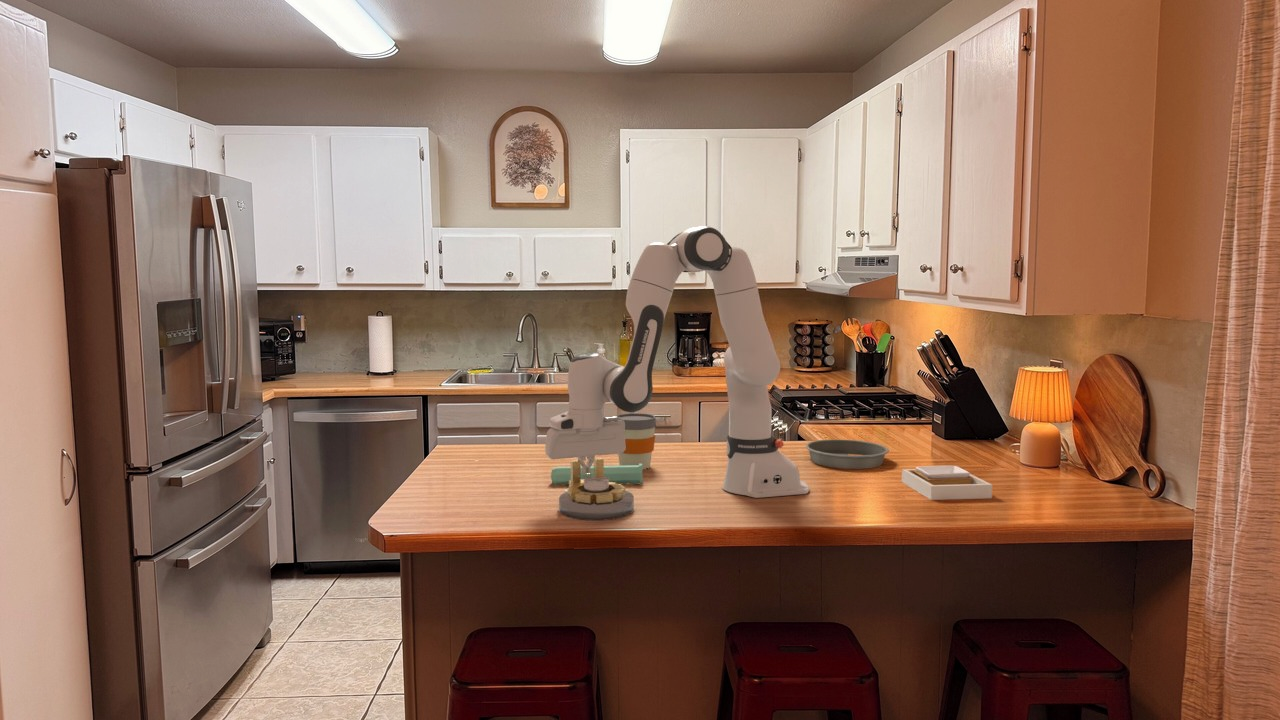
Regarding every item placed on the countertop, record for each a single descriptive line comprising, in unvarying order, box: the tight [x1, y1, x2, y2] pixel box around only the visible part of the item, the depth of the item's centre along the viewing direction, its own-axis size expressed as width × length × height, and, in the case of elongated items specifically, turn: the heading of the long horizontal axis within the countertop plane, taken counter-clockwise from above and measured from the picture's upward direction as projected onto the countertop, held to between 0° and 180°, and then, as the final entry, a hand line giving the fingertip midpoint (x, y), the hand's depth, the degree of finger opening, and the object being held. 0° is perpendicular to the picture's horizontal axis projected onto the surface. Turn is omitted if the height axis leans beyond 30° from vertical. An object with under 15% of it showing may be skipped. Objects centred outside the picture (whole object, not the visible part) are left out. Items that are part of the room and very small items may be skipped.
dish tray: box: [901, 468, 993, 501], centre depth 215 cm, size 16×18×4 cm
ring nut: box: [566, 457, 626, 503], centre depth 199 cm, size 17×13×7 cm
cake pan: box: [805, 438, 890, 470], centre depth 249 cm, size 25×25×4 cm
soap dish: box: [913, 465, 973, 485], centre depth 218 cm, size 12×10×5 cm
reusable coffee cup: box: [614, 412, 657, 470], centre depth 241 cm, size 12×13×15 cm
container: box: [550, 464, 644, 486], centre depth 222 cm, size 6×6×25 cm
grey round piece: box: [558, 476, 635, 521], centre depth 197 cm, size 18×18×8 cm
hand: (586, 473), depth 204 cm, fingers closed
